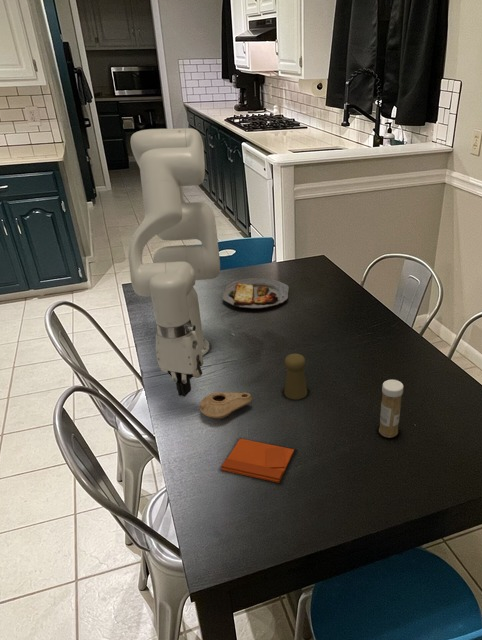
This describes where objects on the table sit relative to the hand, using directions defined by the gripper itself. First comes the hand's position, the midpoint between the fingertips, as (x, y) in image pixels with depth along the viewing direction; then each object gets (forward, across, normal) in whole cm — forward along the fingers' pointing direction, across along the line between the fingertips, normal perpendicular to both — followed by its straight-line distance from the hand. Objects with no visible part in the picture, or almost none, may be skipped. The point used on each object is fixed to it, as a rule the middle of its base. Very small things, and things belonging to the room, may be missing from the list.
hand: (184, 393), depth 124 cm
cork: (+4, -24, -13) cm, 28 cm away
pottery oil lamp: (+4, -11, 0) cm, 12 cm away
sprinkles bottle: (+4, -50, -4) cm, 50 cm away
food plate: (+4, +7, -65) cm, 66 cm away
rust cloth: (+4, -24, +13) cm, 28 cm away
